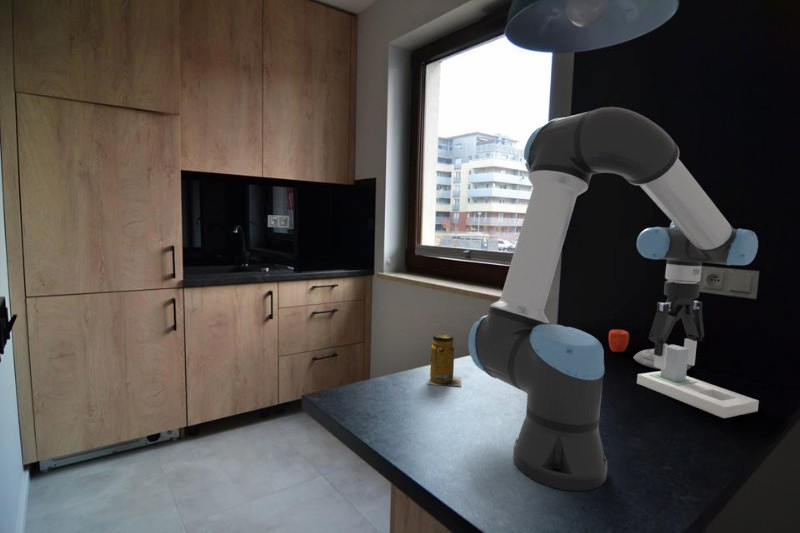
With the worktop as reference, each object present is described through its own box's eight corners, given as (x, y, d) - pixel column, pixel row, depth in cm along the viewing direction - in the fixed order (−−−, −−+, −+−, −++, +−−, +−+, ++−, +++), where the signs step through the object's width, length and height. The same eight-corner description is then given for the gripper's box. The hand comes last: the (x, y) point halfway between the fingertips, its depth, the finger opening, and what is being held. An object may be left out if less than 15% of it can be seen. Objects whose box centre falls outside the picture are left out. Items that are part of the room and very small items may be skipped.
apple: (623, 355, 142) (625, 333, 141) (604, 351, 146) (605, 329, 146) (631, 352, 146) (632, 330, 145) (612, 348, 150) (614, 326, 150)
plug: (673, 392, 111) (677, 350, 110) (657, 385, 115) (660, 345, 114) (684, 390, 113) (688, 348, 111) (667, 383, 117) (671, 343, 116)
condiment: (429, 375, 118) (431, 331, 117) (460, 377, 117) (463, 333, 116) (427, 384, 111) (429, 338, 110) (461, 387, 110) (463, 341, 109)
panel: (723, 418, 96) (725, 406, 96) (636, 383, 116) (637, 373, 116) (757, 411, 101) (758, 399, 100) (668, 378, 121) (669, 369, 121)
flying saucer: (622, 359, 139) (623, 342, 138) (664, 358, 141) (665, 341, 141) (657, 375, 124) (659, 357, 123) (703, 374, 126) (705, 356, 126)
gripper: (664, 284, 103) (656, 375, 105) (726, 282, 112) (717, 366, 114) (637, 280, 110) (629, 365, 112) (697, 278, 119) (689, 357, 121)
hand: (674, 365), depth 113 cm, fingers open, 10 cm apart
